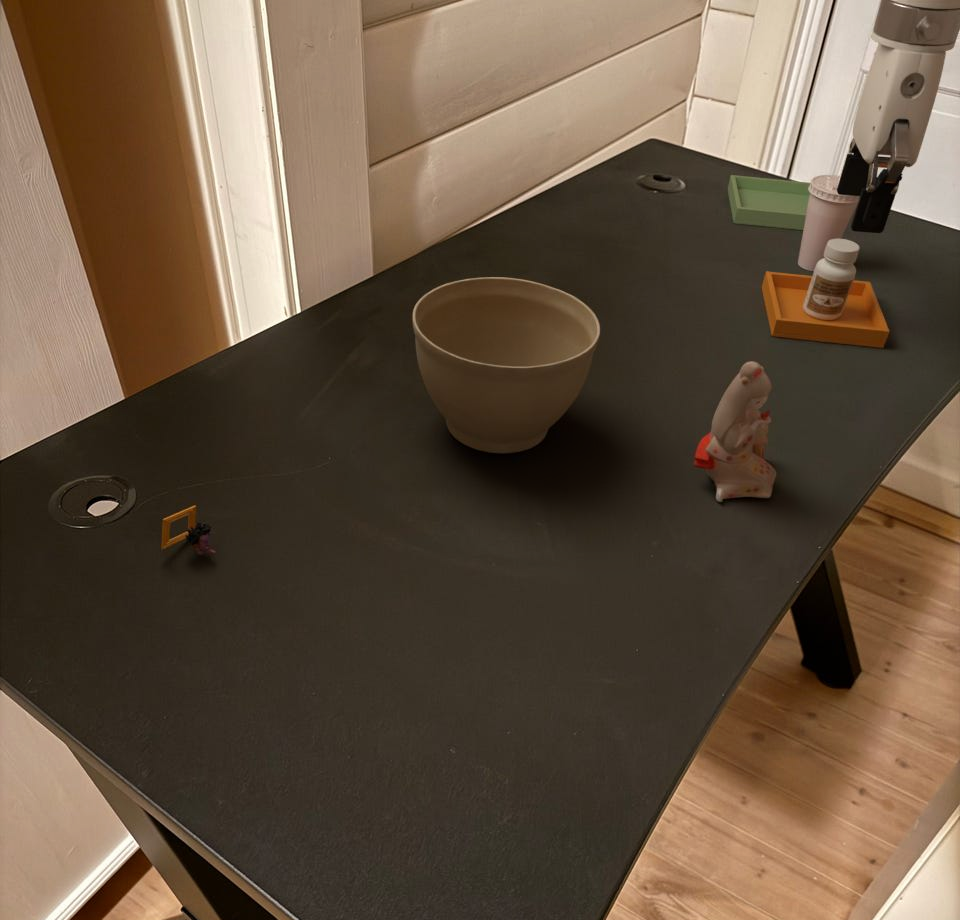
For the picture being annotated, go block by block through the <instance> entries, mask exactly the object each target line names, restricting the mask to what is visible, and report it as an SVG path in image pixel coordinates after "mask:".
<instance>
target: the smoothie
mask: <svg viewBox="0 0 960 920" xmlns="http://www.w3.org/2000/svg"><path fill="white" fill-rule="evenodd" d="M849 147H850V145H849V146H848V149H847V152H846V155H845V159H844V162H843V165H842V169H841V172H840V175H836V174H819V175H815V176H814V177H812V178H811V179H810V181H809V183H810V185H809V187H808V190H809V192H810V196H809V201H808V207H807V213H806V219H805V224H804V230H802V232H803V233H802V236H801V241H800V242H801V243H800V246H799V247H800V248H799V253H798V259H797V265H798V266H799V267H800V268H802V269H804V270H805V271H810V272H814V269H815V266H816V264H817V263H818V261H820V260H821V259H823V258H825V257H824V251H825V248H826V245H827V243H828V241H829V240H831V239H843V236H844V234H845V231H846V230H847V227H848V225H849V223H850V221H851V219H852V216H854V213H855V211H856V208H857V205H858V201H859V198H860V196H850V195H839V194H838V192H837V187H838V184H839V181H840V177H841V174H842V170H843V167H844V164H845V160H846V157H847V154H853V153H849Z"/></svg>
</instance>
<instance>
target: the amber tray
mask: <svg viewBox="0 0 960 920" xmlns="http://www.w3.org/2000/svg"><path fill="white" fill-rule="evenodd" d="M812 276H813V275H805V274H798V273H797V274H796V273H788V272H787V273H786V272H777V271H768V270H766V271H765V274H764V277H763V281H762V284H761V291H762V296H763V301H764V306H765V311H766V315H767V316H766V317H767V320H768V324H769V325H768V326H769V331H770V334H771V337H774V338H775V337H776V338H782V339H783V338H784V339H795V340H804V341H813V342H814V341H815V342H821V343H830V344H831V343H832V344H842V345H851V346H859V347H870V348H878V349H883V348H884V347H885V344H886V342H887V339H888V336H889V335H890V329H889V327H888V323H887V321H886V319H885V315H884V313H883V311H882V309H881V306H880V304H879V301H878V299H877V295H876V293H875V291H874V289H873V285H872V283H871V282H870V281H865V280H857V279H856V280H855V279H854V281H853V283H852V286H851V289H850V292H849V295H848V298H847V301H846V304H845V306H844V309H843V312H842V314H841V316H840V317H839V318H837V319H834V320H821V319H816V318H814V317H811V316H809V315H808V314H807V313H806V312H805V311H804V309H803V304H804V301H805V298H806V295H807V292H808V289H809V285H810V282H811V279H812Z"/></svg>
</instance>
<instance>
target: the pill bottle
mask: <svg viewBox="0 0 960 920" xmlns="http://www.w3.org/2000/svg"><path fill="white" fill-rule="evenodd" d="M859 252H860V245H859V244H858V243H856V242H854V241H853V240H850V239H845V238H841V239H831V240H829V241H828V243H827V245H826V248H825V251H824V257H825V258H823V259H821V260H820V261H818V263H817V264H816V266H815V269H814V271H813V273H812V275H811V276H812V279H811V282H810V285H809V289H808V292H807V295H806V298H805V301H804V304H803V309H804V311H805V312H806V313H807V314H808V315H809V316H811V317H814V318H816V319H821V320H834V319H837V318H839V317H840V316H841V314H842V312H843V309H844V306H845V304H846V301H847V298H848V295H849V292H850V289H851V286H852V283H853V281H854V280H855V278H856V275H857V268H856V266H855V265H854V263H856V261H857V258H858V255H859Z"/></svg>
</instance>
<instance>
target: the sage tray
mask: <svg viewBox="0 0 960 920" xmlns="http://www.w3.org/2000/svg"><path fill="white" fill-rule="evenodd" d="M809 185H810V182H807V181H806V182H805V181H796V180H786V179H778V178H777V179H776V178H766V177H757V176H756V177H755V176H747V175H746V176H745V175H735V174H730V177H729V181H728V186H727V195H728V200H729V206H730V211H731V215H732V216H731V217H732V222H733V224H736V225H737V224H738V225H747V226H757V227H766V228H778V229H786V230H797V231H803V230H804V224H805V219H806V213H807V207H808V201H809V196H810V192H809V190H808V187H809Z"/></svg>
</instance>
